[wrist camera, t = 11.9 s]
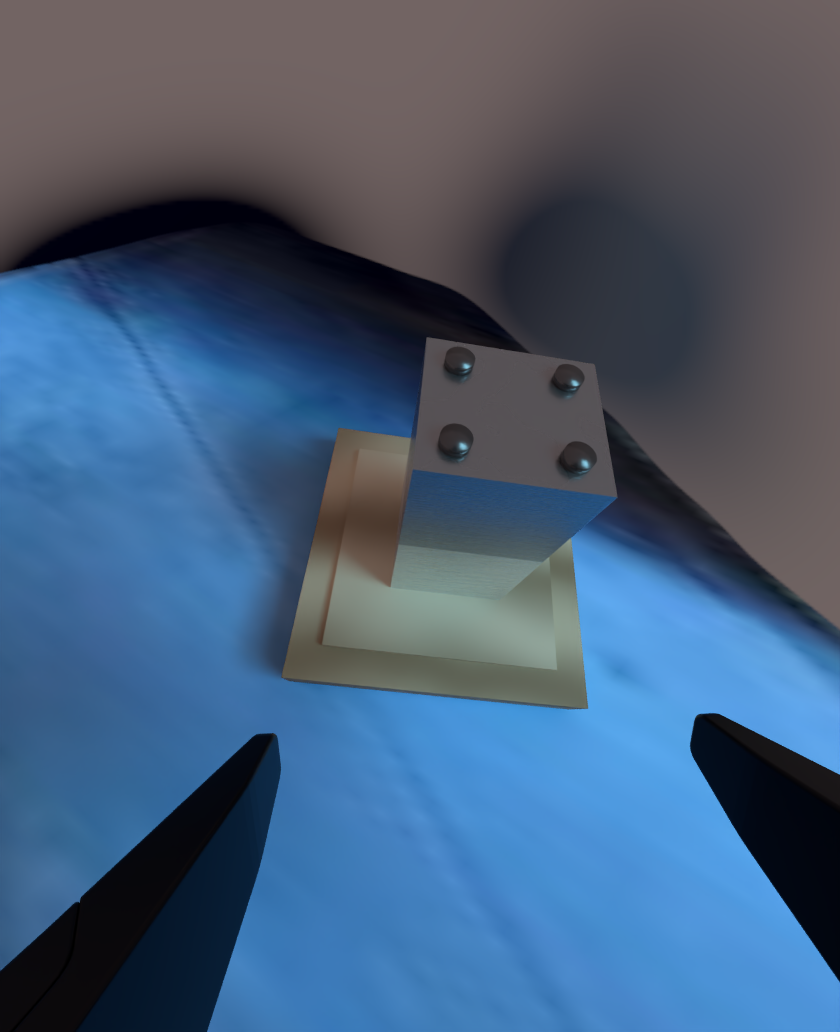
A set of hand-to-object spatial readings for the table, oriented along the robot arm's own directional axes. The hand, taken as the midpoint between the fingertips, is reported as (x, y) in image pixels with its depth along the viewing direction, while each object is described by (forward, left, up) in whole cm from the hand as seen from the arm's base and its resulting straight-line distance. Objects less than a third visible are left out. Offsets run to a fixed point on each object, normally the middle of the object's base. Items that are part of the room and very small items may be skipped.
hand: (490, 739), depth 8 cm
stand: (+8, +1, -12) cm, 15 cm away
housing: (+8, +1, -10) cm, 13 cm away
